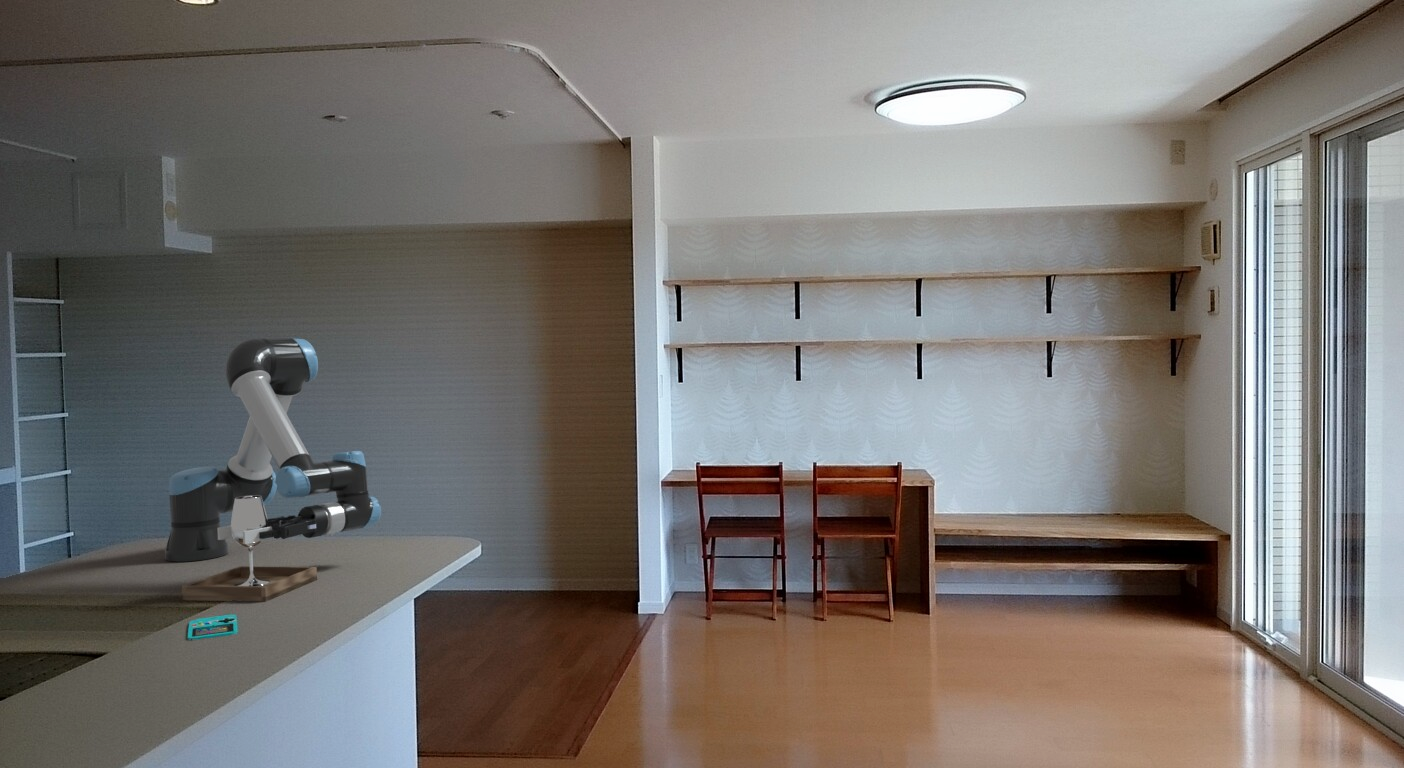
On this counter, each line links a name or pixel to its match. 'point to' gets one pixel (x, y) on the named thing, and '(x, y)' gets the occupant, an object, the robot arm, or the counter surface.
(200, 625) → the handheld gaming console
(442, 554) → the counter surface
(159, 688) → the counter surface
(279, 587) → the walnut tray
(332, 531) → the robot arm
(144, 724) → the counter surface
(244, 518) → the wineglass
